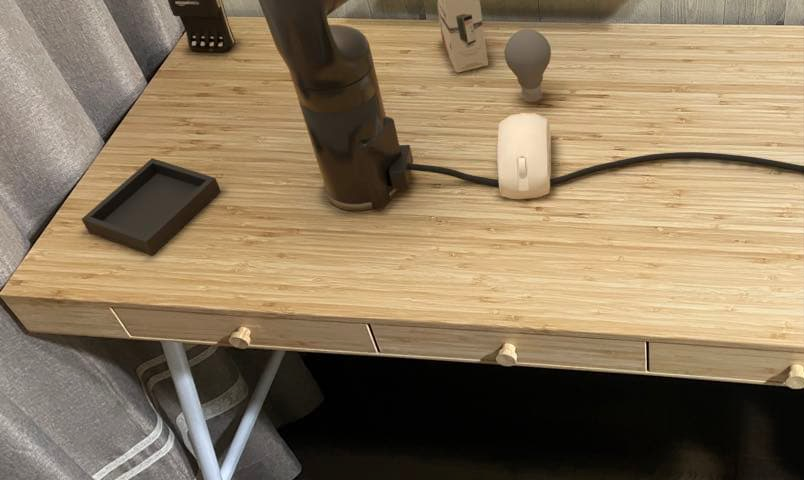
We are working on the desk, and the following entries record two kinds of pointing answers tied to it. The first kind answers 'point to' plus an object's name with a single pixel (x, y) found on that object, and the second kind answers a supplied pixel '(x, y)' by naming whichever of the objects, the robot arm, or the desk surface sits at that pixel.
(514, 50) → the light bulb
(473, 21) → the ink box
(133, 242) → the dock pad
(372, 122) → the robot arm
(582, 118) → the desk surface
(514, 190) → the computer mouse
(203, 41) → the battery charger
